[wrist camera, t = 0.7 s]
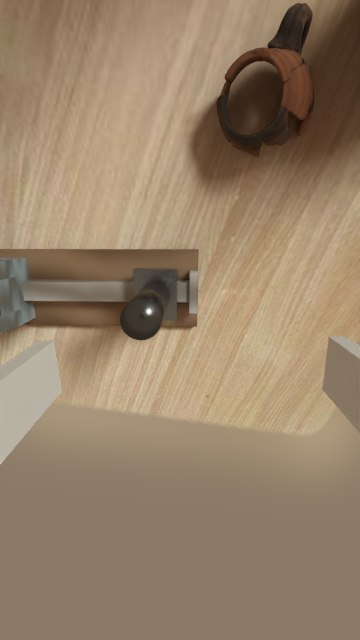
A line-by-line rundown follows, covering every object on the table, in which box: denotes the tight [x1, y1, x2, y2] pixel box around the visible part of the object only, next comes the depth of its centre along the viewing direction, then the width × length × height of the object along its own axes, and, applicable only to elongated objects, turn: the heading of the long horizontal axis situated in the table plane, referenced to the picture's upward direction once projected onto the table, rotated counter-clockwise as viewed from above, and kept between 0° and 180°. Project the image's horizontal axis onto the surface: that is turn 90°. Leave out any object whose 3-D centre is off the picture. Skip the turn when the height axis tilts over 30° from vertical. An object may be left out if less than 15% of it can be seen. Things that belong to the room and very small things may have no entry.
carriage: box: [120, 268, 178, 340], centre depth 30 cm, size 6×5×14 cm
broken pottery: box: [217, 3, 314, 156], centre depth 29 cm, size 12×10×8 cm
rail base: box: [0, 249, 198, 332], centre depth 35 cm, size 10×26×7 cm, turn 90°
